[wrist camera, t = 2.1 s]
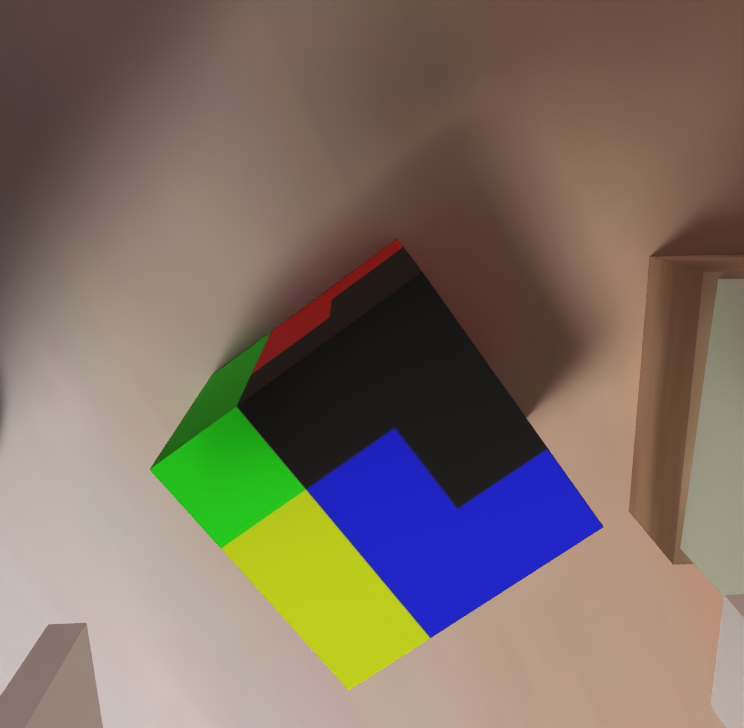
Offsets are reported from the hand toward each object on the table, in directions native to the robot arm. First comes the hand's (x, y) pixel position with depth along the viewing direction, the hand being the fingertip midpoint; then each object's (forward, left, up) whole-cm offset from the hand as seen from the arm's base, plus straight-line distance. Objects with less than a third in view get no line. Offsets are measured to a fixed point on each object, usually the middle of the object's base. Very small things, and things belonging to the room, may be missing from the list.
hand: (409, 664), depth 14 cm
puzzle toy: (0, 0, -18) cm, 18 cm away
